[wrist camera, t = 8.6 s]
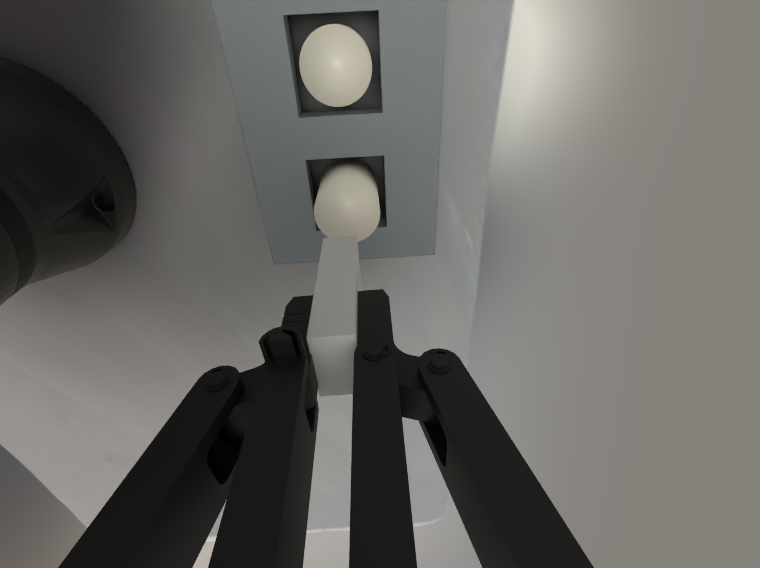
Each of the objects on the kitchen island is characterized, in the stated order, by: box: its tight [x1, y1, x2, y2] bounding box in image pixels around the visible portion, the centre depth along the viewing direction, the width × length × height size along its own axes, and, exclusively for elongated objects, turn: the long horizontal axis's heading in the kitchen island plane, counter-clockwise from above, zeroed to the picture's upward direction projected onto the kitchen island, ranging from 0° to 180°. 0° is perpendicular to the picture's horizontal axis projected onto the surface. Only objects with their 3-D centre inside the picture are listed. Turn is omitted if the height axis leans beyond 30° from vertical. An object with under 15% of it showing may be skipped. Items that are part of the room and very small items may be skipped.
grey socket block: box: [211, 0, 446, 264], centre depth 23 cm, size 25×12×5 cm, turn 3°
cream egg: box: [299, 23, 372, 107], centre depth 23 cm, size 4×4×5 cm
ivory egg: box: [314, 157, 380, 242], centre depth 25 cm, size 4×4×5 cm
